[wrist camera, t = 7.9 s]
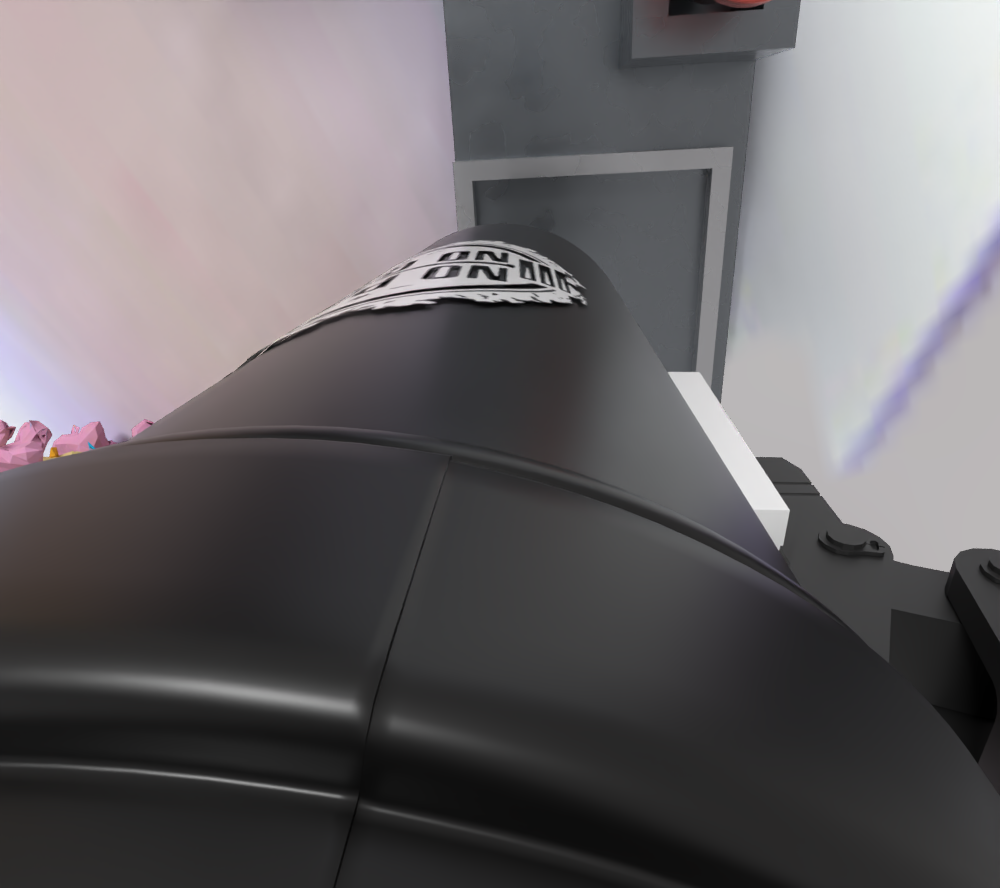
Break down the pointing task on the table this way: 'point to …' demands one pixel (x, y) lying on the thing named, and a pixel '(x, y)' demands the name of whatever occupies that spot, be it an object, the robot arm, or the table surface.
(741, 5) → the pin
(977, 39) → the table surface
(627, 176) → the press
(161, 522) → the water bottle
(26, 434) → the educational model
